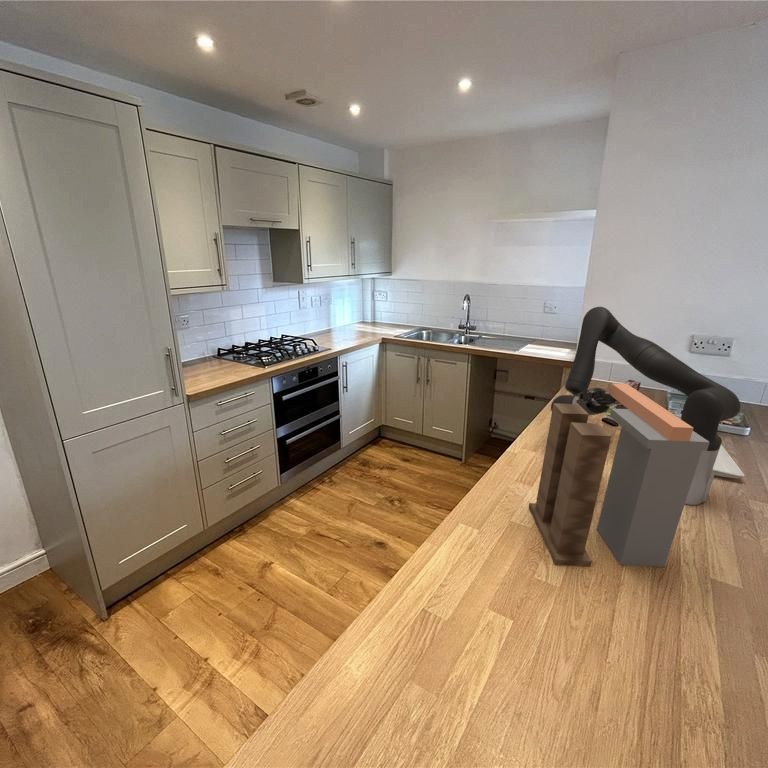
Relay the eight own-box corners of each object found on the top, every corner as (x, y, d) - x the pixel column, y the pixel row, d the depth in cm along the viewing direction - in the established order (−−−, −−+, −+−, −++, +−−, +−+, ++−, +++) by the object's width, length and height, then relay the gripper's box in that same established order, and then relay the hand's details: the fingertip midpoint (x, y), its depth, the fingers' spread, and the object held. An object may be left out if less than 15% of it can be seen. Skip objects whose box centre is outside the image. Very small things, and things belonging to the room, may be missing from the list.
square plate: (642, 466, 136) (645, 456, 135) (630, 432, 160) (632, 423, 159) (743, 485, 127) (747, 474, 126) (714, 446, 151) (717, 437, 150)
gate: (557, 508, 113) (579, 401, 102) (590, 566, 94) (621, 440, 83) (528, 507, 114) (546, 400, 103) (554, 564, 94) (580, 439, 83)
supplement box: (625, 423, 167) (634, 386, 162) (612, 419, 171) (621, 383, 165) (632, 417, 173) (641, 382, 168) (620, 414, 176) (628, 379, 171)
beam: (608, 394, 108) (611, 383, 107) (624, 394, 108) (626, 383, 107) (669, 440, 83) (673, 427, 82) (689, 441, 83) (693, 427, 82)
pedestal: (632, 521, 109) (662, 410, 98) (668, 567, 94) (709, 442, 83) (586, 519, 109) (611, 408, 98) (615, 564, 94) (649, 439, 83)
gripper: (565, 389, 123) (591, 378, 107) (614, 390, 122) (647, 380, 107) (566, 414, 122) (592, 407, 106) (615, 416, 121) (649, 409, 105)
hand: (619, 393), depth 106 cm, fingers open, 8 cm apart
